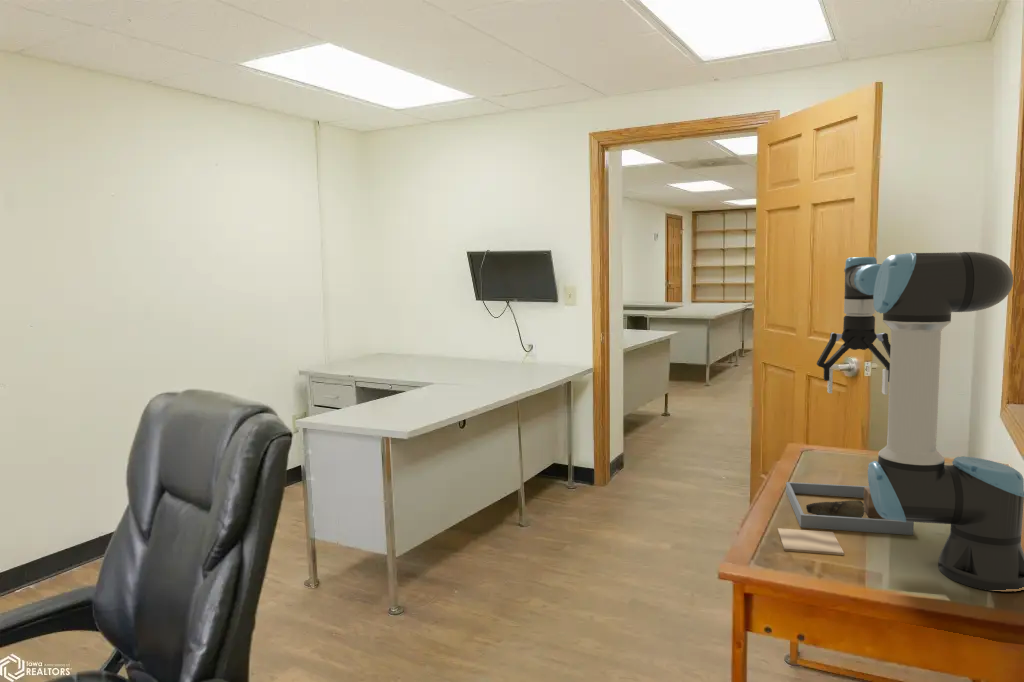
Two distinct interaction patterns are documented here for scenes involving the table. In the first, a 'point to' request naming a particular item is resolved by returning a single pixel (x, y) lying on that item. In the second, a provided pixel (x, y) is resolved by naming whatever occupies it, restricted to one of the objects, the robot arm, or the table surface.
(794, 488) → the parts tray
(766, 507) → the table surface
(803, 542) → the cork pad
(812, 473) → the table surface
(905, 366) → the robot arm
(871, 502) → the walnut block
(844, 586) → the table surface
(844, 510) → the stone
